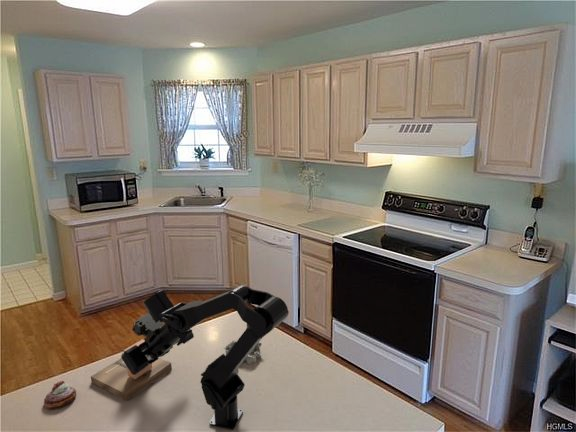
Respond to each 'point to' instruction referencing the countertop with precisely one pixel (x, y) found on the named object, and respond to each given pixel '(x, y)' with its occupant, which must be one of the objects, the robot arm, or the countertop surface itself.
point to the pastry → (59, 396)
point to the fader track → (128, 378)
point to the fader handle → (143, 369)
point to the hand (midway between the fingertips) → (143, 358)
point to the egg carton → (249, 358)
